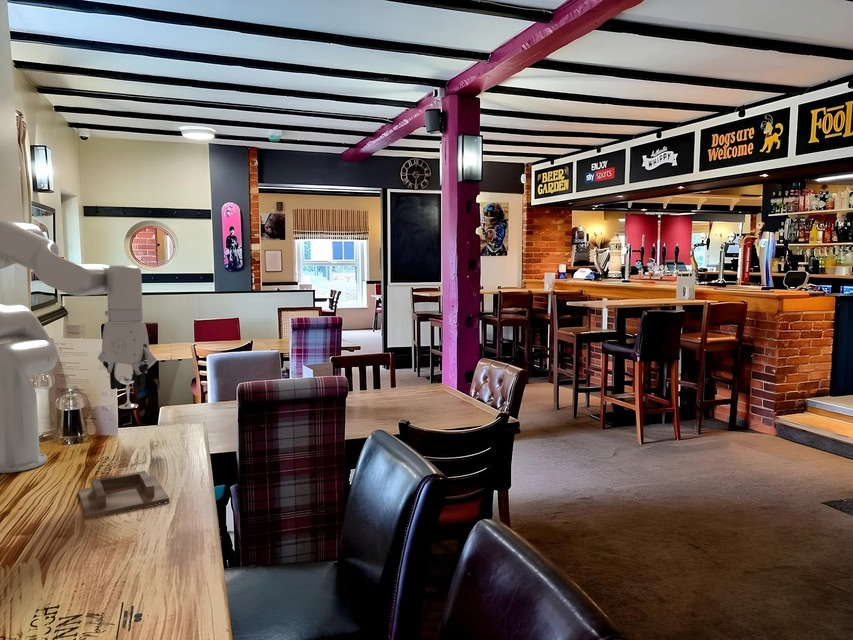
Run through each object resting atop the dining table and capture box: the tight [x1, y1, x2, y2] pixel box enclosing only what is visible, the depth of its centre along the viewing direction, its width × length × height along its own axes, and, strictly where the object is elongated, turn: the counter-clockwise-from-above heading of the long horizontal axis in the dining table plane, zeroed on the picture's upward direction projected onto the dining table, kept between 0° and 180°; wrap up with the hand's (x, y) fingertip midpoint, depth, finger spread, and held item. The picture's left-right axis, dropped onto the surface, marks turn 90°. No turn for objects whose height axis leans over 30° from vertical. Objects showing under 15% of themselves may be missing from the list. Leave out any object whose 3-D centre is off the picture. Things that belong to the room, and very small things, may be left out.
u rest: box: [78, 470, 170, 520], centre depth 133 cm, size 16×16×4 cm
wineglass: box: [114, 363, 139, 410], centre depth 147 cm, size 6×6×12 cm
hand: (127, 388), depth 147 cm, fingers closed on wineglass, 5 cm apart
